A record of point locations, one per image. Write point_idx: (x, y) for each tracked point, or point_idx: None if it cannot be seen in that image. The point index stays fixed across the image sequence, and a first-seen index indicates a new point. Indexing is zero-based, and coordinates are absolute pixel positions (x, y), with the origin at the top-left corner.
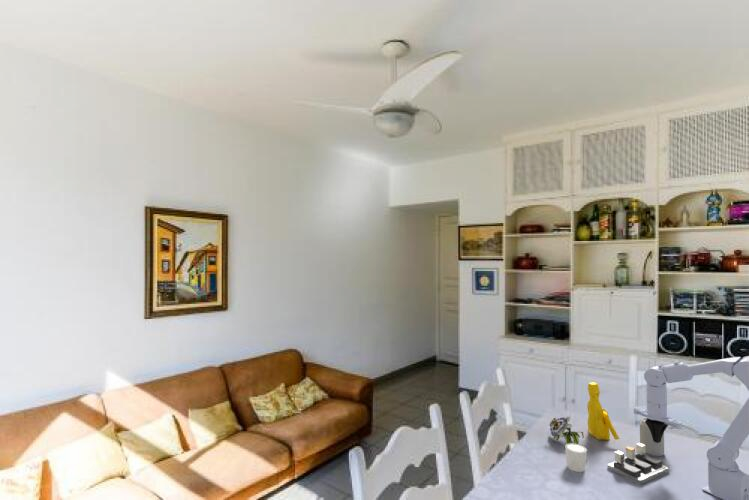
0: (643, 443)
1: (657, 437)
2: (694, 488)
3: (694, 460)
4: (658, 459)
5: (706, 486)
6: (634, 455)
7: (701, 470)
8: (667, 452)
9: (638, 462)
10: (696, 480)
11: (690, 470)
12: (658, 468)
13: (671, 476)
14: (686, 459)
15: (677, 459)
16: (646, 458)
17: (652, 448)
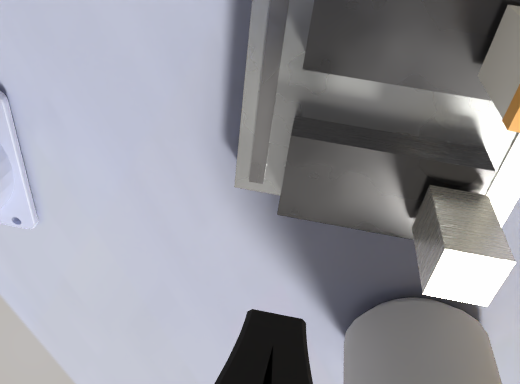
0: (468, 359)
1: (220, 379)
2: (41, 78)
3: None
4: (305, 219)
5: (11, 145)
6: (489, 79)
7: (154, 304)
8: None
9: (423, 19)
10: (102, 190)
11: (182, 273)
12: (277, 123)
13: (204, 125)
14: None
15: None
16: (385, 168)
17: (398, 339)
